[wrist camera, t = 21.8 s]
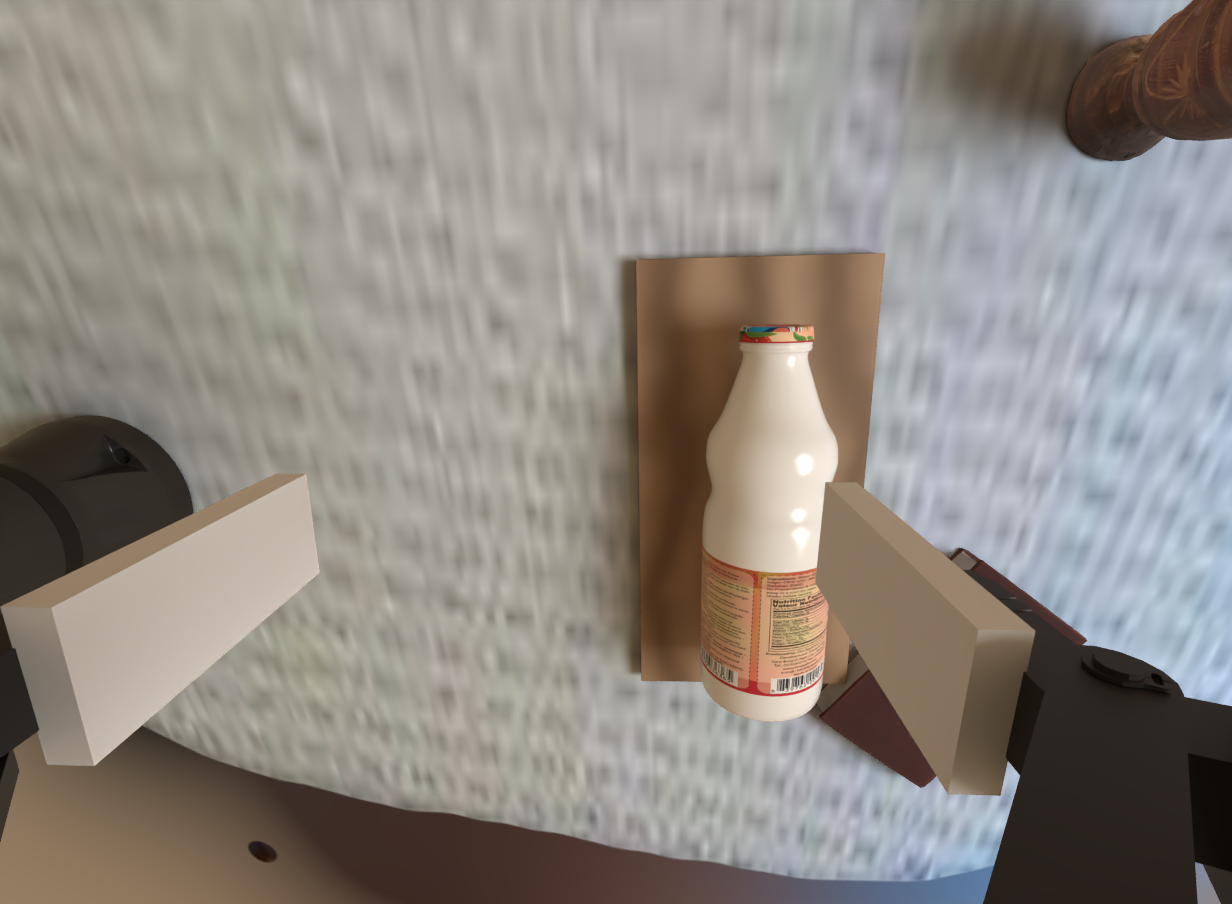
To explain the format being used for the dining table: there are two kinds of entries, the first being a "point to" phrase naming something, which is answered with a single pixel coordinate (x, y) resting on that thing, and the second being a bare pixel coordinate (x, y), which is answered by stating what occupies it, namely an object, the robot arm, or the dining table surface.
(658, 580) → the walnut board
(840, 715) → the book
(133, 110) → the dining table surface
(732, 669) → the fruit juice
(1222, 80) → the mortar and pestle
